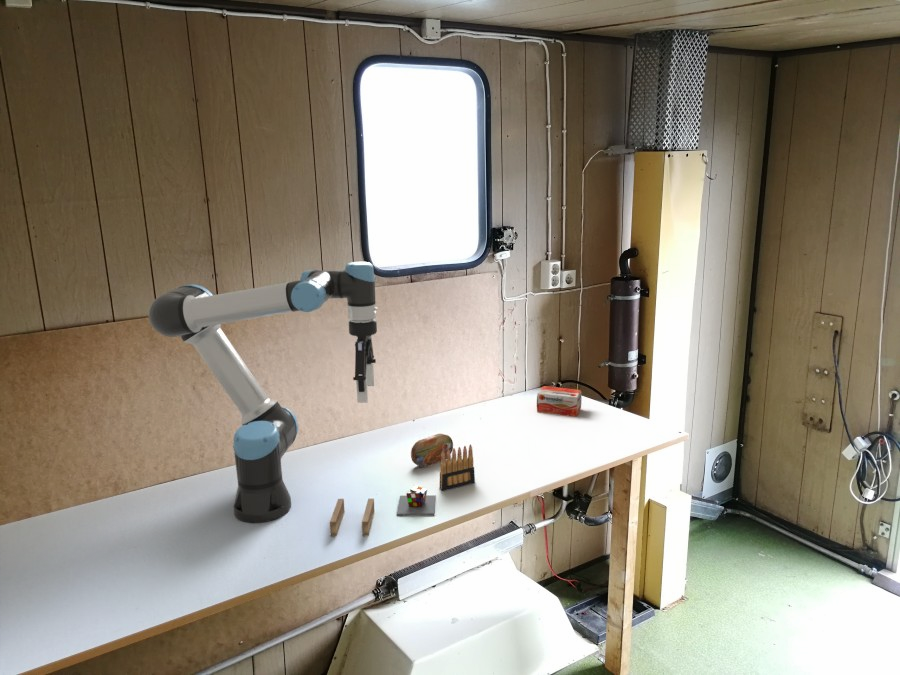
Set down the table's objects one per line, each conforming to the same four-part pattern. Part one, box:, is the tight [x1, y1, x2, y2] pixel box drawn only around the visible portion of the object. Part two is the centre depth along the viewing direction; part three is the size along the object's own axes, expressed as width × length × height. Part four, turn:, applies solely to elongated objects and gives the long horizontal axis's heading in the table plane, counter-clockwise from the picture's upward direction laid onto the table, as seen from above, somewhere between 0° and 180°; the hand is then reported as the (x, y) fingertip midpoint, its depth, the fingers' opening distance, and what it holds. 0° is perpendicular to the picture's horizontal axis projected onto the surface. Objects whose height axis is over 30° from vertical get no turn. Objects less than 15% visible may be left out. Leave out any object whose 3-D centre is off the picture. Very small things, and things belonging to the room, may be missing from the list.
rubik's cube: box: [405, 485, 428, 507], centre depth 187 cm, size 4×5×5 cm
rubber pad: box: [396, 494, 437, 517], centre depth 187 cm, size 10×10×1 cm
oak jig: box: [329, 498, 375, 537], centre depth 178 cm, size 10×12×4 cm
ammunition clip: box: [439, 444, 476, 492], centre depth 197 cm, size 11×2×12 cm, turn 117°
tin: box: [410, 433, 454, 468], centre depth 213 cm, size 15×3×8 cm, turn 129°
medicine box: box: [536, 385, 583, 418], centre depth 254 cm, size 15×8×8 cm, turn 68°
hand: (366, 393), depth 191 cm, fingers open, 13 cm apart
